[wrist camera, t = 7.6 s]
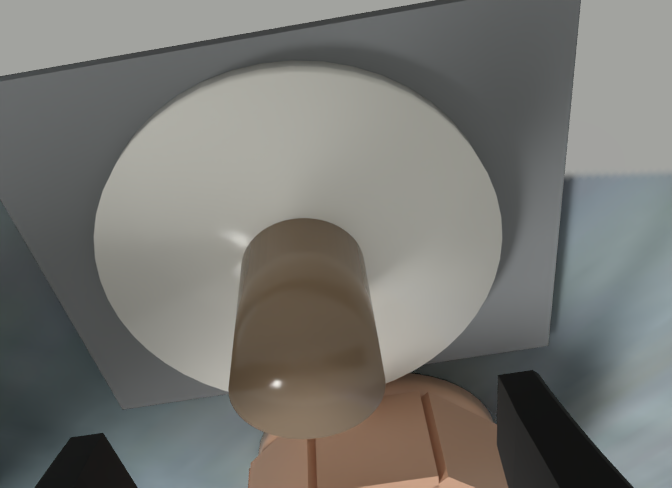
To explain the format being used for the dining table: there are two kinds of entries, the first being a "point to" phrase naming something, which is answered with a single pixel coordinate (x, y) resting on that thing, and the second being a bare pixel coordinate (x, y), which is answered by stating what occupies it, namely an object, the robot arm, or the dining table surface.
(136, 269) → the lid
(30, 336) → the dining table surface
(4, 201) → the mat
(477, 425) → the bowl
